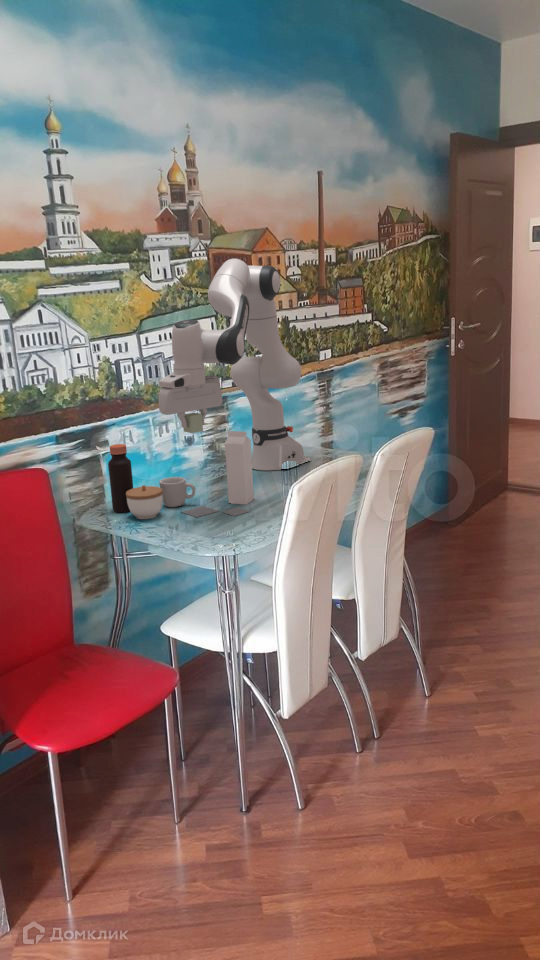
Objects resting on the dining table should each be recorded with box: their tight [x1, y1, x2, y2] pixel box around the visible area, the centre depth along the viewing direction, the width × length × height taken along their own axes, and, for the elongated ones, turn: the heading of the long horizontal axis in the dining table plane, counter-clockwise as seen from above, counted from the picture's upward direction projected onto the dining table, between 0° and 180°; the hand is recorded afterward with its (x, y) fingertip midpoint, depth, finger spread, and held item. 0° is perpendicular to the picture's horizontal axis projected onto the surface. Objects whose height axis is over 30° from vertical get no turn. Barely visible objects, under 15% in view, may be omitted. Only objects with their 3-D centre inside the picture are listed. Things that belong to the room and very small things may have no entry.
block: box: [183, 412, 204, 434], centre depth 240 cm, size 4×4×5 cm
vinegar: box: [107, 443, 134, 514], centre depth 251 cm, size 7×7×20 cm
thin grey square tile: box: [181, 505, 219, 518], centre depth 247 cm, size 8×8×1 cm
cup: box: [159, 476, 196, 508], centre depth 254 cm, size 11×8×8 cm
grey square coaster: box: [222, 506, 251, 517], centre depth 245 cm, size 6×6×1 cm
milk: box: [224, 430, 255, 505], centre depth 253 cm, size 6×6×22 cm
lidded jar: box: [126, 484, 164, 520], centre depth 244 cm, size 11×11×9 cm
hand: (193, 425), depth 241 cm, fingers closed on block, 4 cm apart
